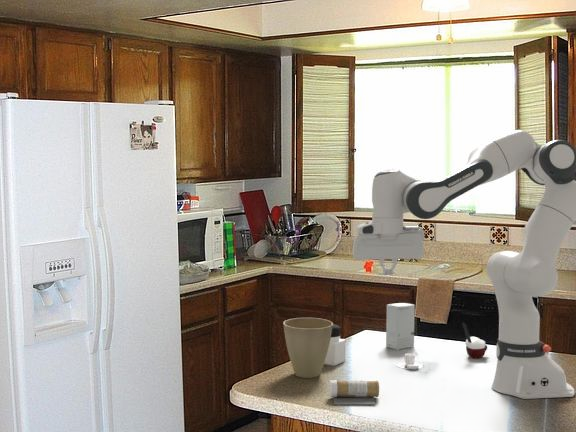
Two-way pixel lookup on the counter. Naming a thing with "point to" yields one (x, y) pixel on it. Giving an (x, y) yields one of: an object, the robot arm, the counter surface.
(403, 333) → the skincare box
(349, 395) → the sprinkles bottle
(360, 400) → the mat
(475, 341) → the cocoa
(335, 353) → the medicine bottle
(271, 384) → the counter surface
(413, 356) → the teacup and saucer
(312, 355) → the plant pot
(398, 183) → the robot arm
